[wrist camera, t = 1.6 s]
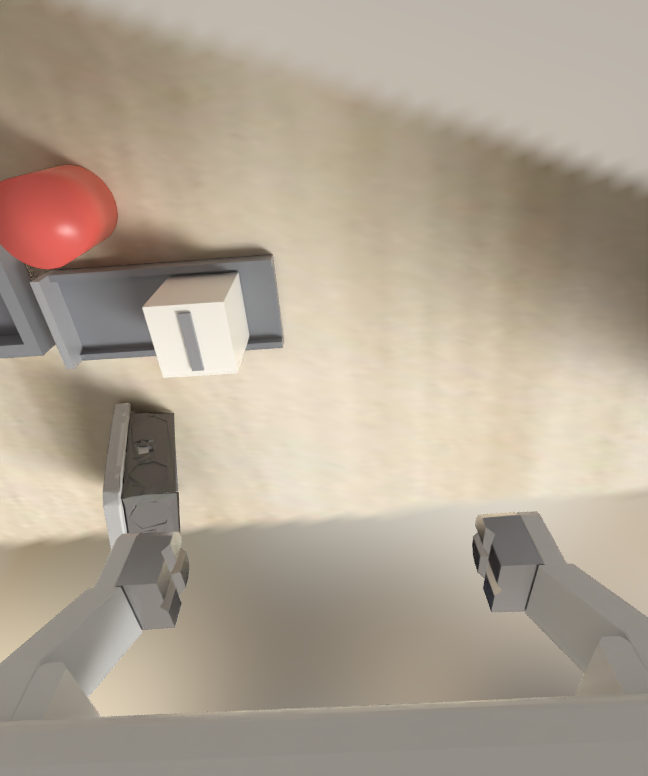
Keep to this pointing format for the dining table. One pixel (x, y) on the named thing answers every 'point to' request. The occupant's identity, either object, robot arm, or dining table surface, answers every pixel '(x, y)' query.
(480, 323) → the dining table surface
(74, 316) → the rail
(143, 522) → the electrical switch
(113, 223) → the cap
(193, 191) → the dining table surface
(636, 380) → the dining table surface
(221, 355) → the white slotted block
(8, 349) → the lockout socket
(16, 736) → the robot arm
